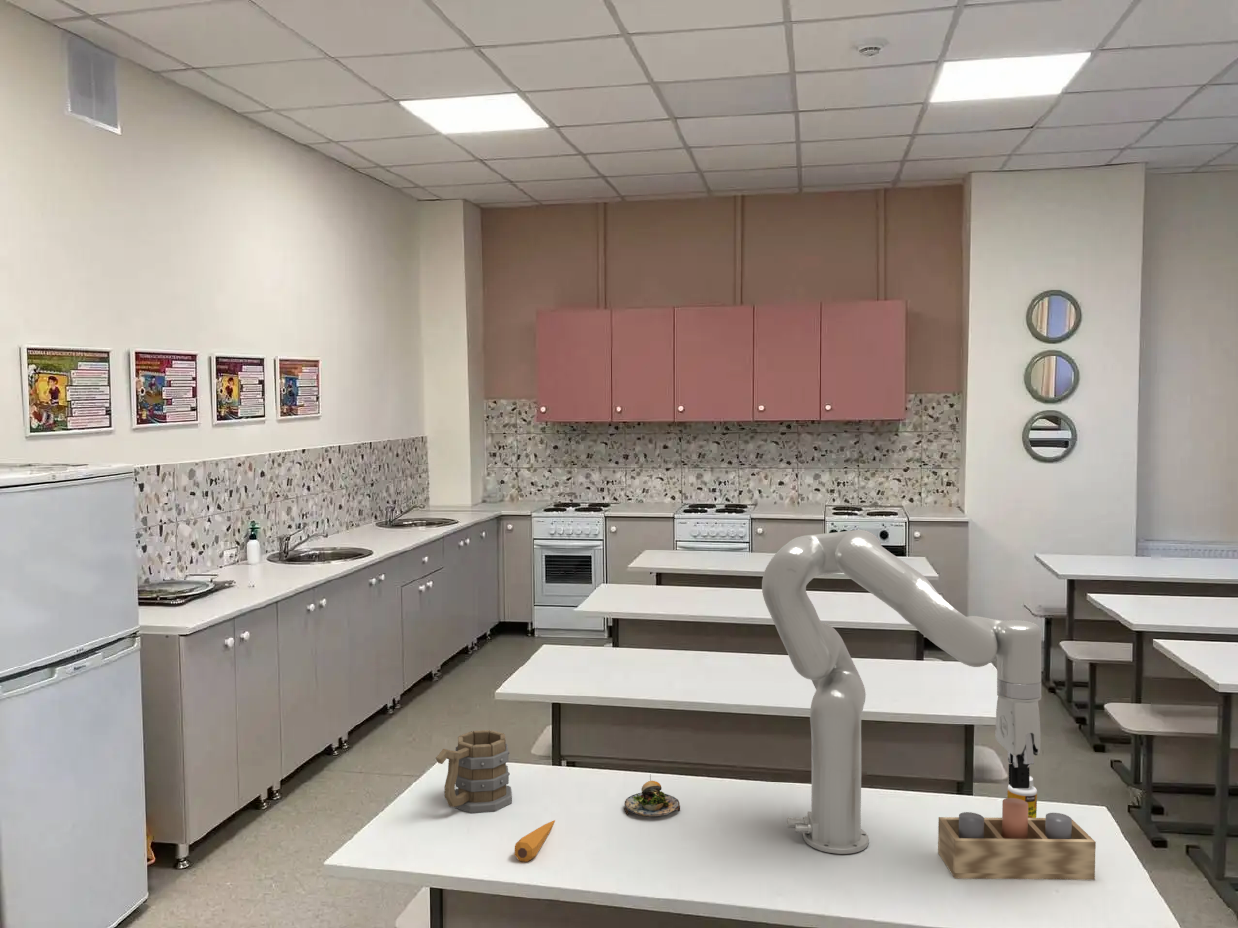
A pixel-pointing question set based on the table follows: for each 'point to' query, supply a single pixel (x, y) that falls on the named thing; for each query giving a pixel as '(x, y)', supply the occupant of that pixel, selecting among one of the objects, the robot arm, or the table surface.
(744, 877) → the table surface
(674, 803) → the burger
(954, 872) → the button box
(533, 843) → the carrot
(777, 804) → the table surface
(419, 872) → the table surface
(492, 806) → the tankard
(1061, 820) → the plunger right
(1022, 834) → the pink cylinder
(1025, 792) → the supplement bottle
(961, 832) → the plunger left
